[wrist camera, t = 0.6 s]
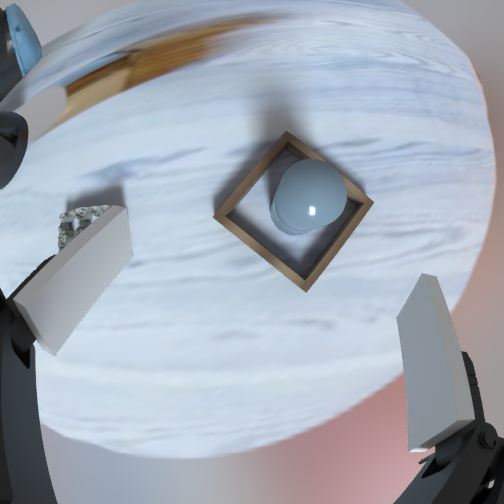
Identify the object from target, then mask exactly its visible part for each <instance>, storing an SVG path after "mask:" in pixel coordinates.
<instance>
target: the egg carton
mask: <svg viewBox="0 0 504 504" xmlns="http://www.w3.org/2000/svg"><path fill="white" fill-rule="evenodd" d="M112 206H113V205H100V206H90V207H80V208H77V209H74V210H72V211H69V212H68V213H63V214H61V215H60V219H61V224H60V226H59V228H58V229H59V237H58V239H59V241H58V247H59V252H60V251H61V250H62V249H63V248H64V247H65V246H66V245H67V244H69V243H70V242H71V241H72V240H73V239H74V238H75V237H76V236H77V235H79V234H80V233H81V232H82V231H83V230H84V229H86V228H84V227H78V228H77V229H76V231H75V233H74V232H73V231H72V230H70V223H71V222H73V221H74V219H75V218H77V219H79V220H85V221H88V220H90V219H91V218H92V217H93V214H94V216H96V217H97V216H98V217H100V216H101V215H102V214H103V213H105V212H106V211H107V210H108V209H110V208H111V207H112ZM116 206H118V205H116Z"/></svg>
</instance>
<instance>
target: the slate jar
mask: <svg viewBox="0 0 504 504" xmlns="http://www.w3.org/2000/svg"><path fill="white" fill-rule="evenodd" d="M346 200H347V190H346V185H345V182H344V180H343V178H342V176H341V175H340V173H339V172H338V171H337V170H336V169H335V168H334V167H333V166H331V165H330V164H328V163H326V162H324V161H321V160H317V159H304V160H301V161H298V162H296V163H294V164H292V165H291V166H290V167H289V168H288V169H287V170H286V171H285V172H284V174H283V176H282V178H281V180H280V183H279V186H278V188H277V191H276V194H275V196H274V199H273V201H272V204H271V210H270V211H271V218H272V220H273V222H274V224H275V225H276V227H277V228H278V229H279V230H281V231H282V232H284V233H286V234H289V235H300V234H303V233H306V232H309V231H312V230H314V229H317V228H320V227H322V226H325V225H328V224H330V223H332V222H333V221H335V220H336V219H337V218H338V217H339V216H340V215H341V213H342V212H343V210H344V207H345V204H346Z"/></svg>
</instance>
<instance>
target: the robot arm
mask: <svg viewBox="0 0 504 504" xmlns="http://www.w3.org/2000/svg"><path fill="white" fill-rule="evenodd" d="M41 56H42V48H41V45H40V42H39V40H38V38H37V35H36V33H35V31H34V29H33V28H32V26H31V24H30V22H29V21H28V19H27V17H26V16H25V14H24V13H23V11H22V10H21V9H20V7H19V6H17V5H16V4H11V5H10V6H8V7H6V9H5V11H3V10H2V9H1V8H0V102H1V101H2V100H3V98H4V97H5V96H6V95H7V94H8V93H9V92H10V91H11V90H12V89H13V88H14V87H15V85H16V84H17V83H18V82H19V81H20V80H21V79H22V78H25V77H26V74H27V73H28V72H29V71H30V70H31V69H32V68H33V67H34V66H35V65H36V64H37V63H38V62H39V60H40V58H41ZM27 141H28V125H27V122H26V120H25V119H24V118H23V117H22V116H20V115H18V114H17V113H14V112H6V111H0V189H2V188H4V187H5V186H6V185H7V184H8V183H9V182H10V181H11V179H12V178H13V177H14V175H15V173H16V172H17V170H18V168H19V166H20V164H21V162H22V159H23V157H24V154H25V150H26V146H27ZM132 257H133V250H132V244H131V237H130V230H129V223H128V215H127V208H126V207H121V206H115V205H113V206H112V207H111V208H110V209H108V210H107V211H106V212H105V213H103V214H102V215H101V216H100V217H99V218H97V219H96V220H95V221H94V222H93V223H91V224H90V225H89V226H88V227H87V228H86V229H84V230H83V231H82V232H81V233H80V234H79V235H77V236H76V237H75V238H74V239H73V240H72V241H71V242H70V243H69V244H67V245H66V246H65V247H64V248H63V249H62V250H61V251H60V252H59V253H58V254H57V255H53V256H51V257H50V258H48V259H46V260H44V261H43V262H42V263H41V264H40V265H39V266H38V267H37V269H36V270H34V271H33V272H32V273H31V274H30V276H28V277H27V278H26V279H25V280H24V281H23V282H22V283H21V284H20V285H19V286H18V288H17V289H16V290H15V291H14V292H13V293H12V294H11V295H10V296H9V297H8V298H7V299H6V298H5V296H4V294H3V292H2V290H1V288H0V504H57V500H56V497H55V494H54V490H53V487H52V483H51V479H50V475H49V471H48V466H47V462H46V457H45V452H44V447H43V441H42V435H41V429H40V421H39V412H38V403H37V390H36V370H35V347H34V345H33V343H34V342H35V340H37V342H38V343H39V345H40V346H41V348H42V349H43V350H45V351H47V352H48V353H50V354H51V355H53V356H55V355H56V354H57V352H58V351H59V350H60V348H61V347H62V345H63V344H64V343H65V341H66V340H67V338H68V337H69V336H70V334H71V333H72V332H73V330H74V329H75V328H76V326H77V325H78V324H79V322H80V321H81V320H82V318H83V317H84V316H85V315H86V313H87V312H88V311H89V309H90V308H91V307H92V306H93V304H94V303H95V302H96V301H97V299H98V298H99V297H100V296H101V294H102V293H103V292H104V291H105V289H106V288H107V287H108V286H109V285H110V283H111V282H112V281H113V280H114V279H115V277H116V276H117V275H118V274H119V273H120V271H121V270H122V269H123V268H124V267H125V266H126V264H127V263H128V262H129V261H130V260H131V259H132ZM397 324H398V330H399V337H400V344H401V351H402V359H403V368H404V377H405V388H406V400H407V419H408V452H422V451H427V450H428V449H430V448H432V447H433V446H435V453H433V454H431V455H429V456H427V457H426V458H424V459H422V460H421V461H420V462H419V464H422V463H424V462H426V461H427V462H426V463H425V465H424V466H423V468H422V469H421V470H420V472H419V473H418V474H417V476H416V477H415V478H414V480H413V481H412V482H411V483H410V485H409V486H408V487H407V488H406V490H405V491H404V492H403V493H402V495H401V496H400V497H399V498H398V499H397V500H396V501H395V503H394V504H504V438H501V437H498V435H497V432H496V430H495V428H494V427H493V426H492V425H491V424H489V423H486V422H485V418H484V412H483V407H482V401H481V397H480V391H479V387H478V386H477V385H478V383H477V378H476V377H475V375H476V374H475V370H474V366H473V363H472V361H471V359H470V358H469V356H468V354H467V352H462V351H461V350H460V346H459V342H458V339H457V336H456V332H455V329H454V326H453V322H452V319H451V316H450V313H449V310H448V307H447V304H446V301H445V299H444V296H443V293H442V290H441V288H440V285H439V282H438V280H437V277H435V276H431V275H427V274H423V273H422V274H421V276H420V278H419V280H418V282H417V284H416V285H415V287H414V289H413V291H412V293H411V294H410V296H409V298H408V299H407V301H406V303H405V305H404V306H403V308H402V310H401V311H400V313H399V314H398V316H397ZM493 480H495V481H494V484H493V487H492V488H488V486H489V482H491V481H493Z"/></svg>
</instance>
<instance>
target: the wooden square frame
mask: <svg viewBox="0 0 504 504" xmlns="http://www.w3.org/2000/svg"><path fill="white" fill-rule="evenodd" d="M285 148H287V149H288V150H289V151H291V152H292V153H293V154H295V155H296V156H297V157H299V158H300V159H301V160H304V159H317V160H321V161H324V162H326V163H328V162H327V161H325V160H324V159H323V158H322V157H320V156H319V155H318V154H317V153H315V152H314V151H313V150H311V149H310V148H309V147H308V146H306V145H305V144H304V143H302V142H301V141H300V140H298V139H297V138H296V137H294V136H293V135H292V134H290V133H289V132H287V131H286V132H285V133H284V134H283V135H282V136H281V137H280V138H279V139H278V141H277V142H276V143H275V144H274V145H273V146H272V147H271V149H270V150H269V151H268V152H267V153H266V154H265V155H264V157H263V158H262V159H261V160H260V161H259V162H258V163H257V165H256V166H255V167H254V168H253V169H252V170H251V172H250V173H249V174H248V175H247V176H246V178H245V179H244V180H243V181H242V182H241V183H240V185H239V186H238V187H237V188H236V189H235V191H234V192H233V193H232V194H231V195H230V197H229V198H228V199H227V200H226V201H225V203H224V204H223V205H222V206H221V208H220V209H219V210H218V211H217V213H216V214H215V215H214V216H213V218H214V219H215V220H217V221H218V222H219V223H220V224H222V225H223V226H224V227H225V228H227V229H228V230H229V231H230V232H232V233H233V234H234V235H235V236H236V237H238V238H239V239H240V240H241V241H243V242H244V243H245V244H246V245H248V246H249V247H250V248H251V249H253V250H254V251H255V252H256V253H258V254H259V255H260V256H261V257H263V258H264V259H265V260H266V261H267V262H269V263H270V264H271V265H272V266H274V267H275V268H276V269H277V270H279V271H280V272H281V273H282V274H284V275H285V276H286V277H287V278H289V279H290V280H291V281H292V282H293V283H295V284H296V285H297V286H298V287H300V288H301V289H302V290H303V291H305V292H307V291H308V290H309V289H310V287H311V286H312V285H313V284H314V282H315V281H316V280H317V279H318V277H319V276H320V275H321V274H322V272H323V271H324V270H325V268H326V267H327V266H328V265H329V263H330V262H331V261H332V259H333V258H334V257H335V255H336V254H337V253H338V251H339V250H340V249H341V247H342V246H343V245H344V243H345V242H346V241H347V239H348V238H349V237H350V235H351V234H352V233H353V231H354V230H355V229H356V227H357V226H358V224H359V223H360V222H361V220H362V219H363V217H364V216H365V215H366V213H367V212H368V210H369V209H370V208H371V206H372V205H373V203H374V202H373V201H372V200H371V199H370V198H369V197H368V196H367V195H365V194H364V193H363V192H362V191H361V190H360V189H359V188H358V187H356V186H355V185H354V184H353V183H352V182H351V181H349V180H348V179H347V178H346V177H345V176H344V175H342V174H341V173H340V172H339V171H338V170H337V171H338V172H339V173H340V175H341V176H342V178H343V180H344V182H345V185H346V190H347V197H348V198H349V199H350V200H351V201H352V202H353V203H354V204H356V205H357V207H356V209H355V210H354V211H353V213H352V214H351V215H350V217H349V218H348V219H347V221H346V222H345V223H344V225H343V226H342V227H341V229H340V230H339V231H338V233H337V234H336V235H335V237H334V238H333V239H332V241H331V242H330V243H329V245H328V246H327V247H326V249H325V250H324V251H323V252H322V254H321V255H320V256H319V258H318V259H317V260H316V261H315V263H314V264H313V265H312V267H311V268H310V269H309V270H308V272H307V273H306V274H305V275H304V277H303V278H301V277H300V276H299V275H298V274H296V273H295V272H294V271H293V270H291V269H290V268H289V267H288V266H286V265H285V264H284V263H283V262H282V261H280V260H279V259H278V258H277V257H275V256H274V255H273V254H272V253H270V252H269V251H268V250H267V249H265V248H264V247H263V246H262V245H261V244H259V243H258V242H257V241H256V240H254V239H253V238H252V237H251V236H249V235H248V234H247V233H246V232H244V231H243V230H242V229H241V228H239V227H238V226H237V225H236V224H234V223H233V222H232V221H231V220H229V219H228V218H227V217H228V216H229V215H230V214H231V212H232V211H233V210H234V209H235V207H236V206H237V205H238V204H239V203H240V201H241V200H242V199H243V198H244V197H245V195H246V194H247V193H248V192H249V190H250V189H251V188H252V187H253V186H254V185H255V183H256V182H257V181H258V180H259V179H260V177H261V176H262V175H263V174H264V173H265V171H266V170H267V169H268V168H269V167H270V166H271V164H272V163H273V162H274V161H275V160H276V159H277V157H278V156H279V155H280V154H281V153H282V152H283V150H284V149H285ZM328 164H329V163H328ZM331 166H332V165H331Z"/></svg>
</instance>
